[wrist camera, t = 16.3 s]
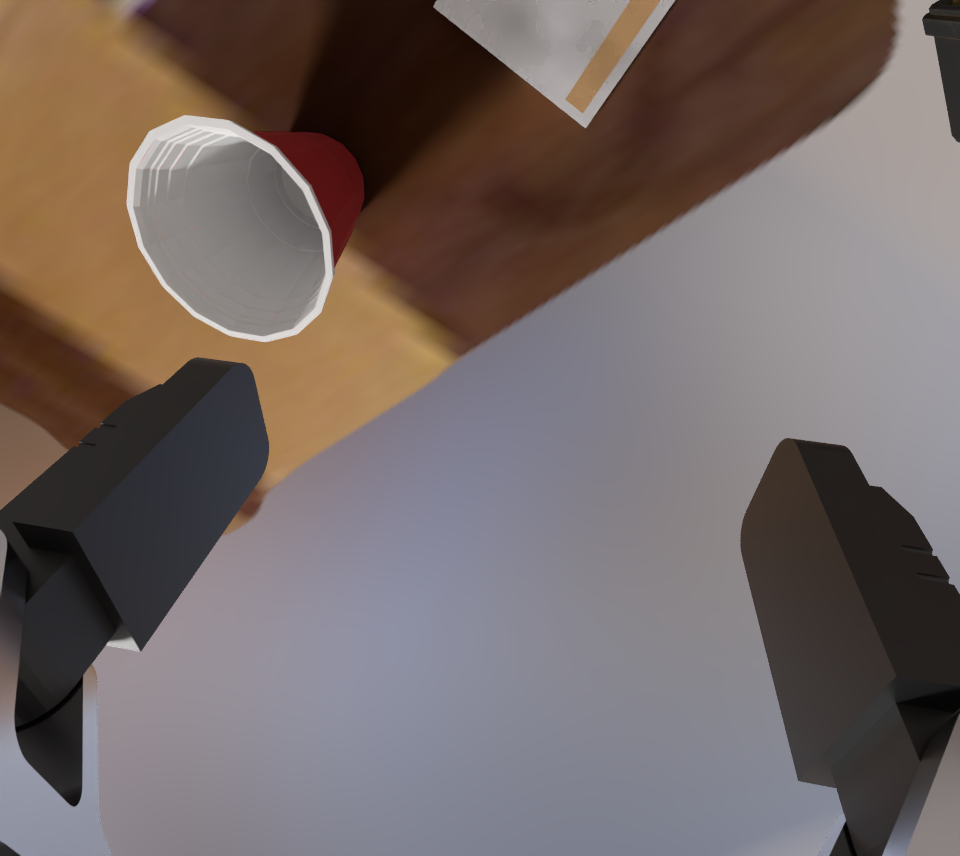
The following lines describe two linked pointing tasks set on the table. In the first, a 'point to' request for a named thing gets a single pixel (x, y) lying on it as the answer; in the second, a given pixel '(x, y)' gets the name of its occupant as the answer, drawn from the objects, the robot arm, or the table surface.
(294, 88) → the table surface
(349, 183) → the plastic cup
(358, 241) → the table surface
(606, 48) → the plate
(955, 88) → the black carrying case
